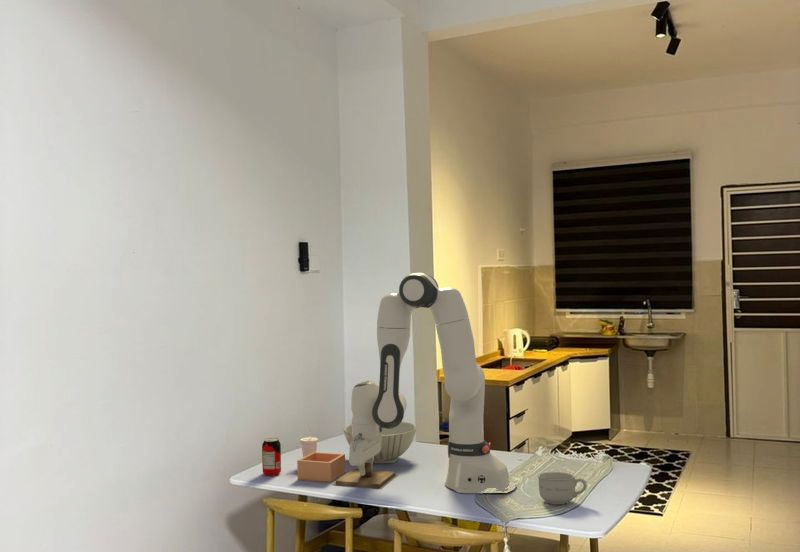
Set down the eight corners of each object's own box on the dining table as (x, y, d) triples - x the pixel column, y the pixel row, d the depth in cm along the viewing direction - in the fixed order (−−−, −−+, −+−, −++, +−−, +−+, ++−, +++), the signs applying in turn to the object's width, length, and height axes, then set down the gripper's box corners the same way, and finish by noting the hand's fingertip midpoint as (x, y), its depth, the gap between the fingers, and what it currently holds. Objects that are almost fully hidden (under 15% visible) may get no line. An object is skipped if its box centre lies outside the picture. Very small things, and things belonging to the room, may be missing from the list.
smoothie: (315, 468, 252) (314, 429, 252) (298, 468, 253) (297, 428, 253) (320, 464, 258) (320, 425, 258) (304, 463, 260) (303, 425, 260)
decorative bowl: (391, 474, 243) (391, 438, 243) (329, 464, 257) (328, 431, 258) (430, 456, 266) (429, 424, 266) (370, 448, 280) (370, 417, 280)
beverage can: (285, 473, 247) (284, 438, 247) (272, 477, 242) (271, 442, 242) (271, 470, 250) (271, 436, 250) (258, 475, 245) (258, 440, 245)
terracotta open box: (345, 474, 244) (345, 454, 244) (330, 484, 232) (330, 462, 232) (313, 472, 248) (313, 451, 248) (297, 481, 236) (297, 460, 236)
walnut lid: (395, 475, 239) (394, 459, 239) (379, 488, 225) (379, 471, 225) (353, 472, 244) (353, 457, 244) (335, 484, 230) (335, 468, 230)
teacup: (532, 504, 209) (532, 476, 209) (547, 494, 218) (546, 468, 218) (579, 511, 201) (578, 483, 201) (591, 501, 210) (591, 474, 210)
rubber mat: (398, 476, 240) (398, 474, 240) (381, 491, 224) (381, 489, 224) (352, 472, 245) (352, 471, 245) (331, 486, 229) (331, 485, 229)
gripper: (362, 438, 224) (363, 482, 224) (384, 425, 243) (385, 465, 243) (343, 437, 226) (344, 480, 226) (367, 424, 245) (368, 464, 245)
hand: (366, 472), depth 235 cm, fingers open, 4 cm apart
